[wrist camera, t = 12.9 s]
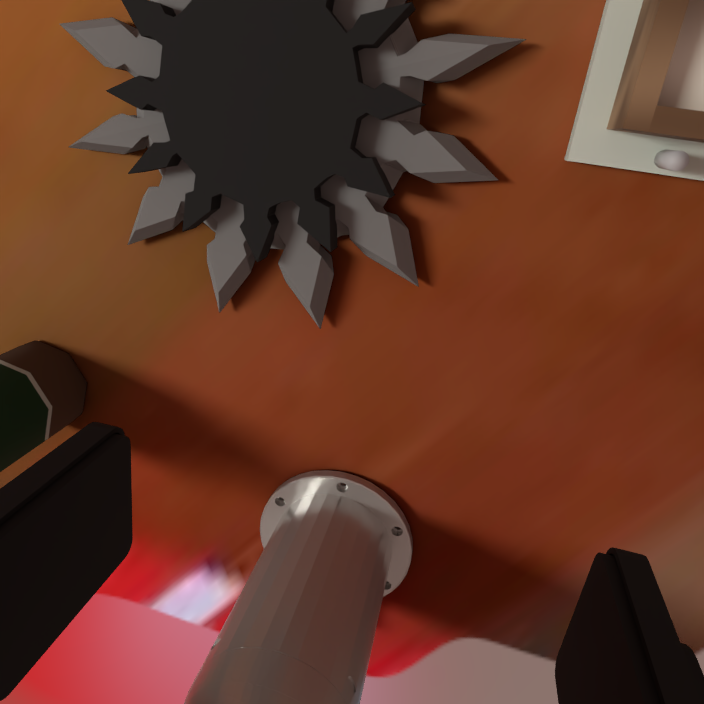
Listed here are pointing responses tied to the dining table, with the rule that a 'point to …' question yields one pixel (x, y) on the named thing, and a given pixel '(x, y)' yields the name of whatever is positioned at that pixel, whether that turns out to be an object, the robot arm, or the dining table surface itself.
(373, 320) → the dining table surface
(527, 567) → the dining table surface
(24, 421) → the beer bottle
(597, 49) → the panel
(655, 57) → the frame
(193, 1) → the decorative piece
